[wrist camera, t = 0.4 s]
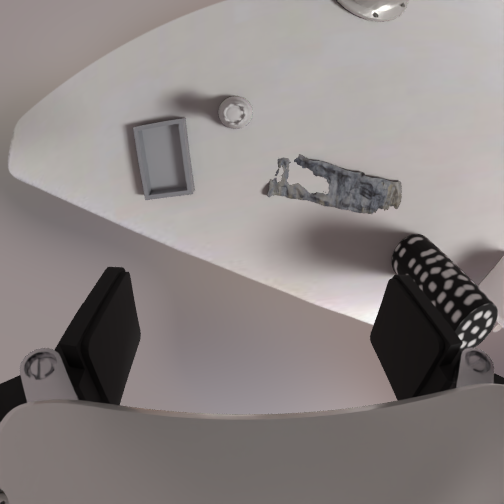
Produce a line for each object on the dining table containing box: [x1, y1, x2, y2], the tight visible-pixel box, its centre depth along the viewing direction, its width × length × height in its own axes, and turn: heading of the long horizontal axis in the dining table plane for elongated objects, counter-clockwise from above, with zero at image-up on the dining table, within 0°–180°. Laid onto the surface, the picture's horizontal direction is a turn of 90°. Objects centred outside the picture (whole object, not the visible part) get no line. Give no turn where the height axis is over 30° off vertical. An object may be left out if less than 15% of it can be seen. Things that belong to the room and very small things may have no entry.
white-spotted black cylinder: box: [392, 234, 498, 352], centre depth 39 cm, size 8×8×20 cm
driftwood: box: [267, 154, 402, 214], centre depth 42 cm, size 21×7×2 cm, turn 78°
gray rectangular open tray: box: [133, 118, 195, 200], centre depth 38 cm, size 10×7×2 cm, turn 5°
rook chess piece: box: [218, 96, 253, 129], centre depth 33 cm, size 4×4×8 cm
